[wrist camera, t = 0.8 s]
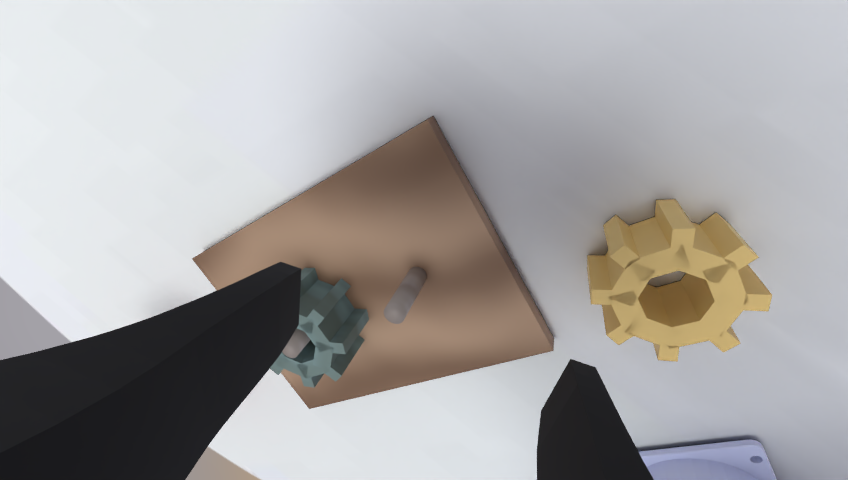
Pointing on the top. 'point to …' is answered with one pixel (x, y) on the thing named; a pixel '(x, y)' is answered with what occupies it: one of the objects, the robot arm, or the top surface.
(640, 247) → the ochre gear
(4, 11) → the top surface
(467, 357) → the gear board
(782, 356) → the top surface
